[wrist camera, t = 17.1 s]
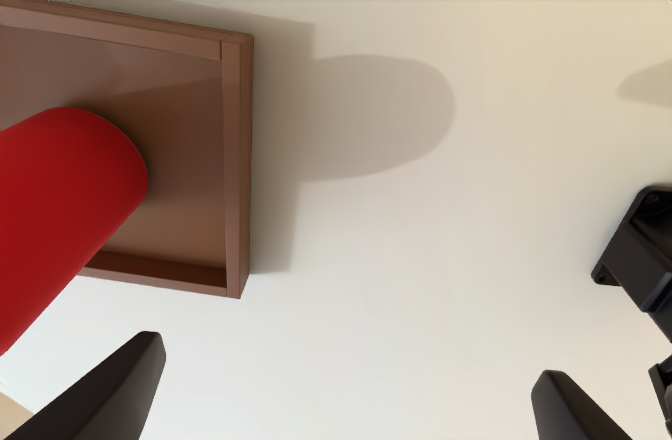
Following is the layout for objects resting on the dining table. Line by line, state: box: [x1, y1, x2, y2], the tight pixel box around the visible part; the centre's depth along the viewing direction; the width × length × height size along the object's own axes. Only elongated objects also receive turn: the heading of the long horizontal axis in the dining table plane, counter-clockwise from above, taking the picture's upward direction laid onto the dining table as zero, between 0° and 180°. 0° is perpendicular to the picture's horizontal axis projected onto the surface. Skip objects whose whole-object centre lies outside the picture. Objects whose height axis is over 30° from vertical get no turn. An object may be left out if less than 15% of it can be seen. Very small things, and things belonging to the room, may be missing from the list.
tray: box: [0, 0, 254, 299], centre depth 20 cm, size 17×15×2 cm
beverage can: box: [0, 107, 148, 356], centre depth 16 cm, size 6×6×12 cm
